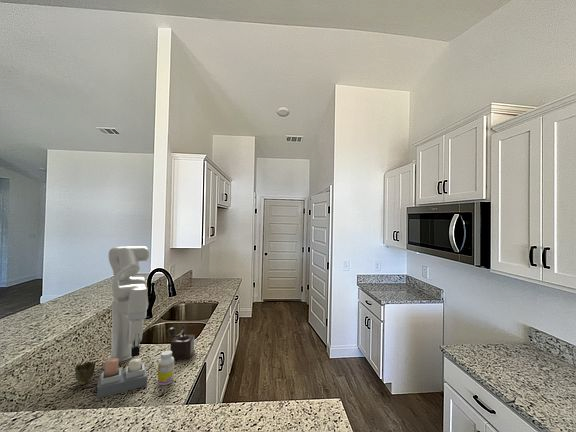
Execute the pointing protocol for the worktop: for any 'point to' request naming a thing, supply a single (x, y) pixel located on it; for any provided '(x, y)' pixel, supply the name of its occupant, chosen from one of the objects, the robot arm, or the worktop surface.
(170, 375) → the supplement bottle
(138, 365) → the knob cream
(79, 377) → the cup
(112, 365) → the brown egg
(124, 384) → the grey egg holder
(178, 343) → the dark brown coffee grinder
